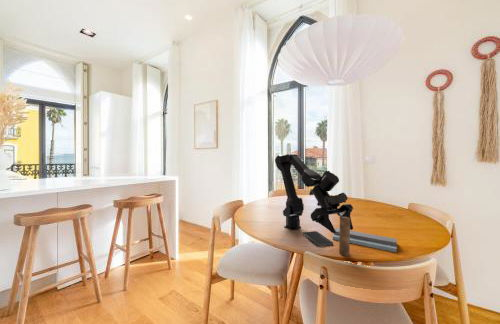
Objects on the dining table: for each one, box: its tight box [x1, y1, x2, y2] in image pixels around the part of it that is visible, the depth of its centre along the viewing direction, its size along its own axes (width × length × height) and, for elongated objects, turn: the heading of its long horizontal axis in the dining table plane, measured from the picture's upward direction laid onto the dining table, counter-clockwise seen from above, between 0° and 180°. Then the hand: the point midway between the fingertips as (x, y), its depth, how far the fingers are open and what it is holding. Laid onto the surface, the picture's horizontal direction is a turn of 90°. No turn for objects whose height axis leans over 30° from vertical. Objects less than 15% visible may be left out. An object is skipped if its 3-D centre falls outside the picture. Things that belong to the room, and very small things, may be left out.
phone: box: [302, 230, 334, 247], centre depth 101 cm, size 8×1×15 cm
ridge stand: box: [332, 227, 398, 253], centre depth 98 cm, size 24×10×3 cm, turn 57°
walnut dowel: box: [338, 216, 351, 257], centre depth 86 cm, size 4×4×14 cm
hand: (343, 231), depth 86 cm, fingers open, 9 cm apart
